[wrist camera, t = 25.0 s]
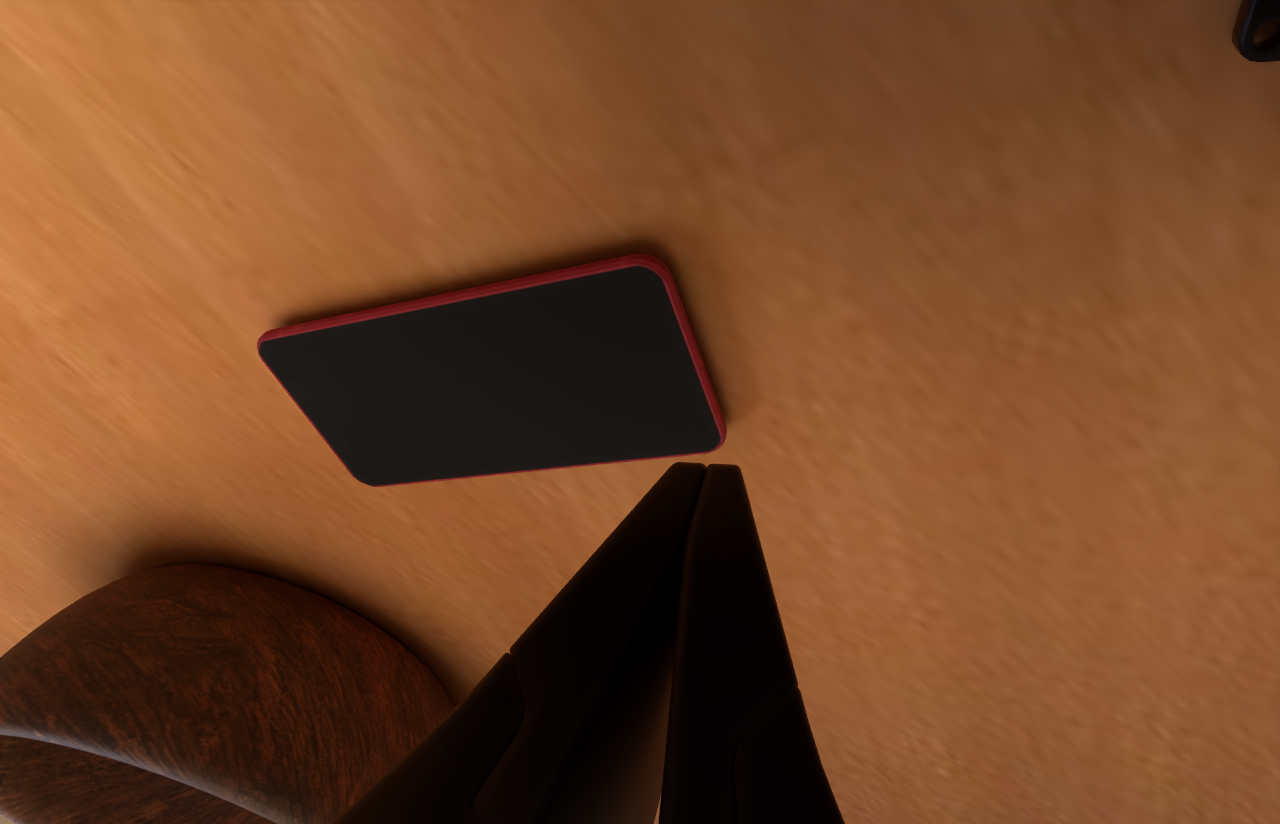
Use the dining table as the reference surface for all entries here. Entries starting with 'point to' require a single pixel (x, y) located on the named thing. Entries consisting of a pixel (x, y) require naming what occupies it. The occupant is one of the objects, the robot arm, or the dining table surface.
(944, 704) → the dining table surface
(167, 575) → the wooden bowl
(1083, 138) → the dining table surface
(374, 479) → the smartphone
